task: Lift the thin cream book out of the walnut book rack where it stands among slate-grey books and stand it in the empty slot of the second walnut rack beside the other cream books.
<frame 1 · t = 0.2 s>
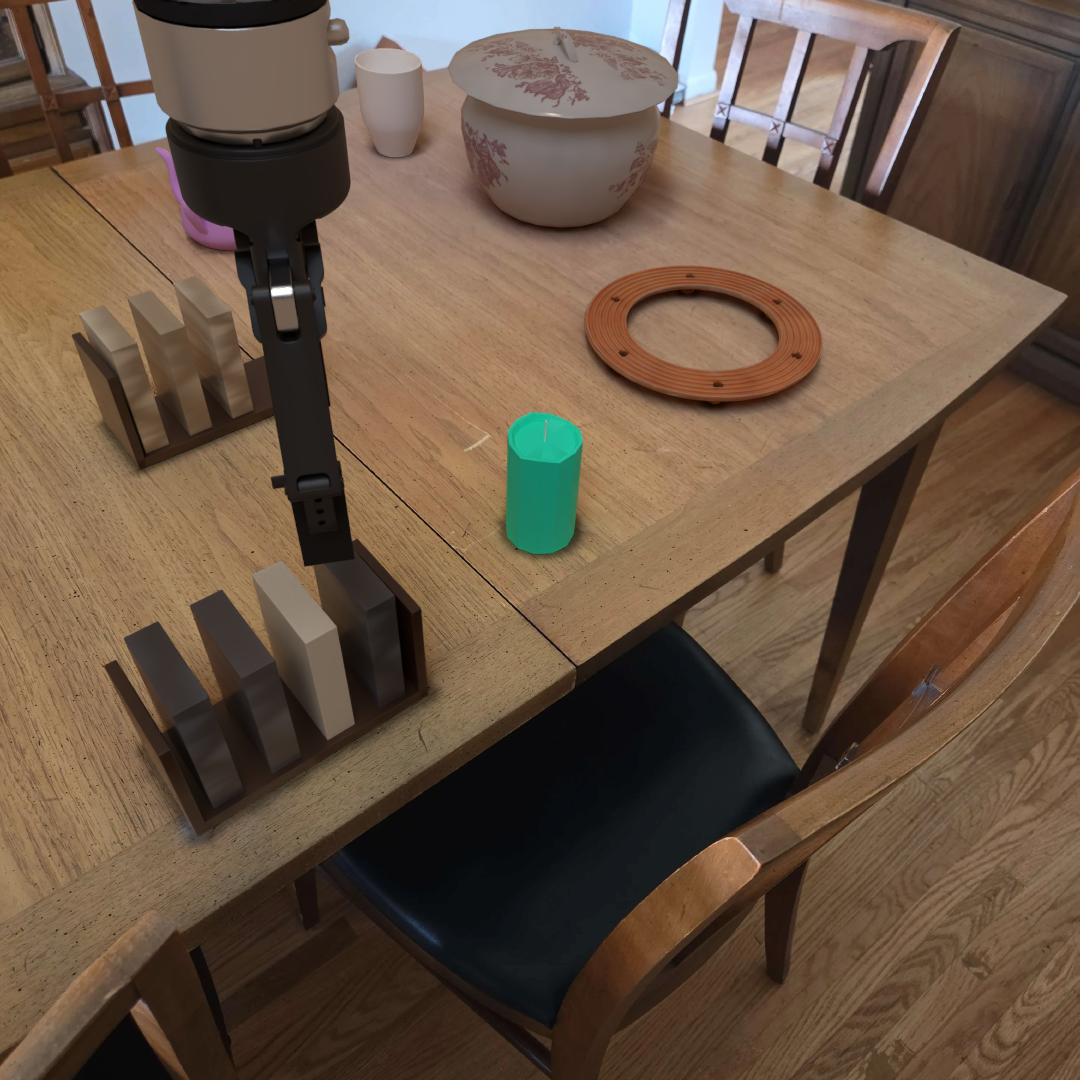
hand: (318, 476, 55), 20 cm above the table, tool pointing down, fingers open, 13 cm apart
chamber pot: (557, 203, 122), on the table
cream book: (316, 698, 66), point 1 cm above the table, touching grey rack
ring: (699, 344, 101), on the table
candle: (539, 530, 81), on the table
mug: (399, 147, 132), on the table
teapot: (236, 232, 114), on the table
cream rack: (213, 410, 90), on the table
grey rack: (291, 722, 66), on the table
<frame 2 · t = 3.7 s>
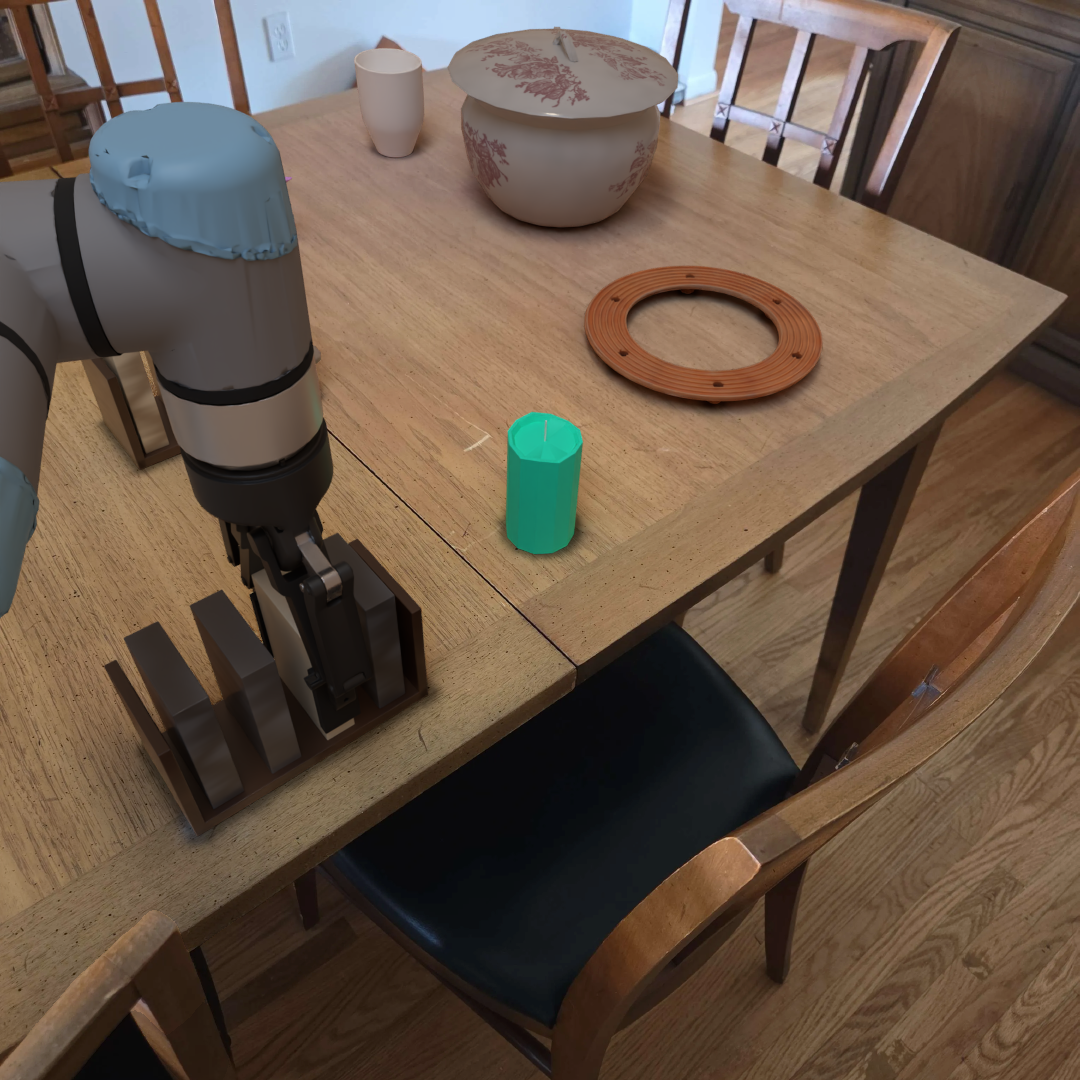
hand: (312, 682, 65), 3 cm above the table, tool pointing down, fingers closed on cream book, 7 cm apart
cream book: (316, 698, 66), point 1 cm above the table, touching grey rack, gripper
everything else where it was.
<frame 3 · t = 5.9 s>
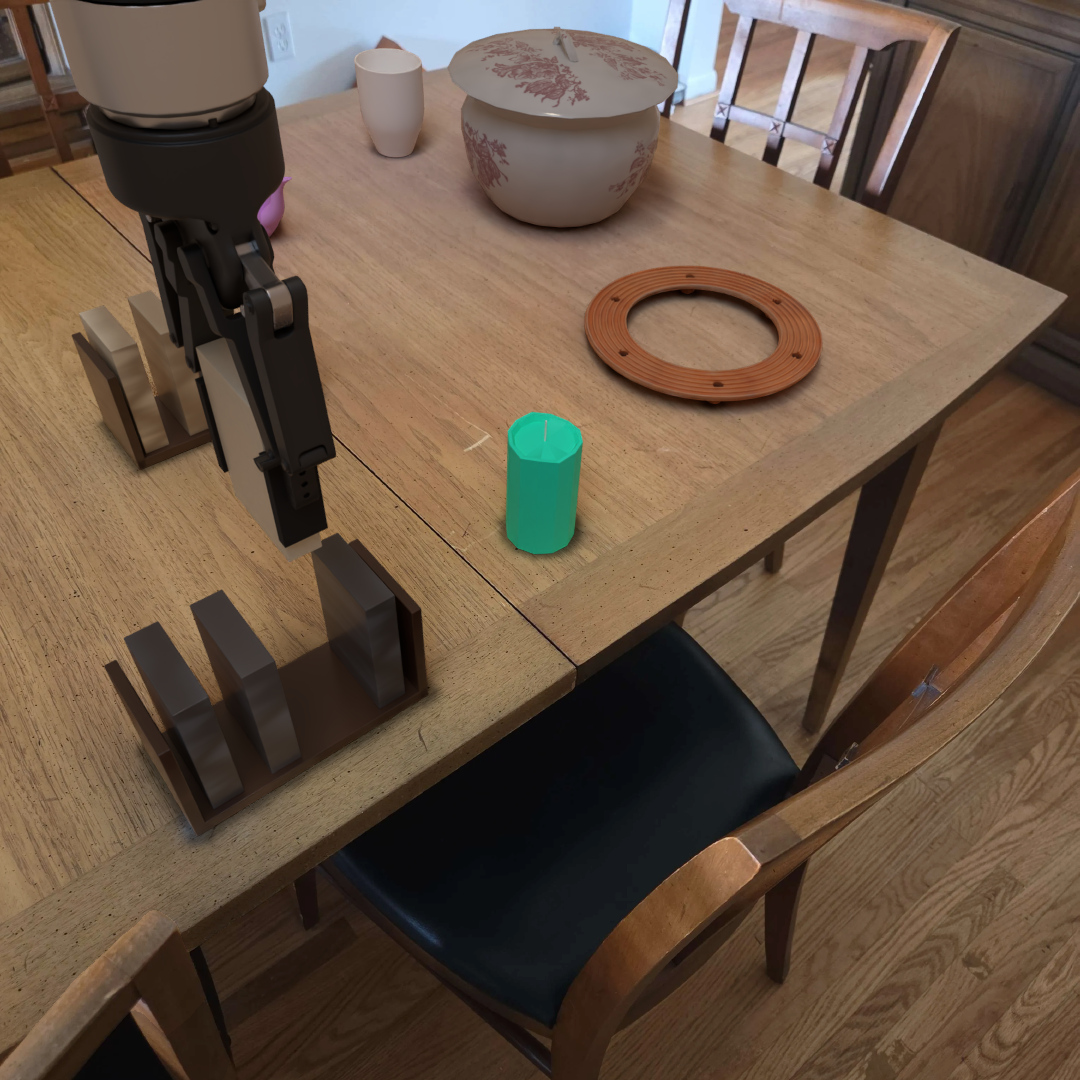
hand: (271, 495, 55), 19 cm above the table, tool pointing down, fingers closed on cream book, 7 cm apart
cream book: (277, 520, 56), point 17 cm above the table, touching gripper
everything else where it was.
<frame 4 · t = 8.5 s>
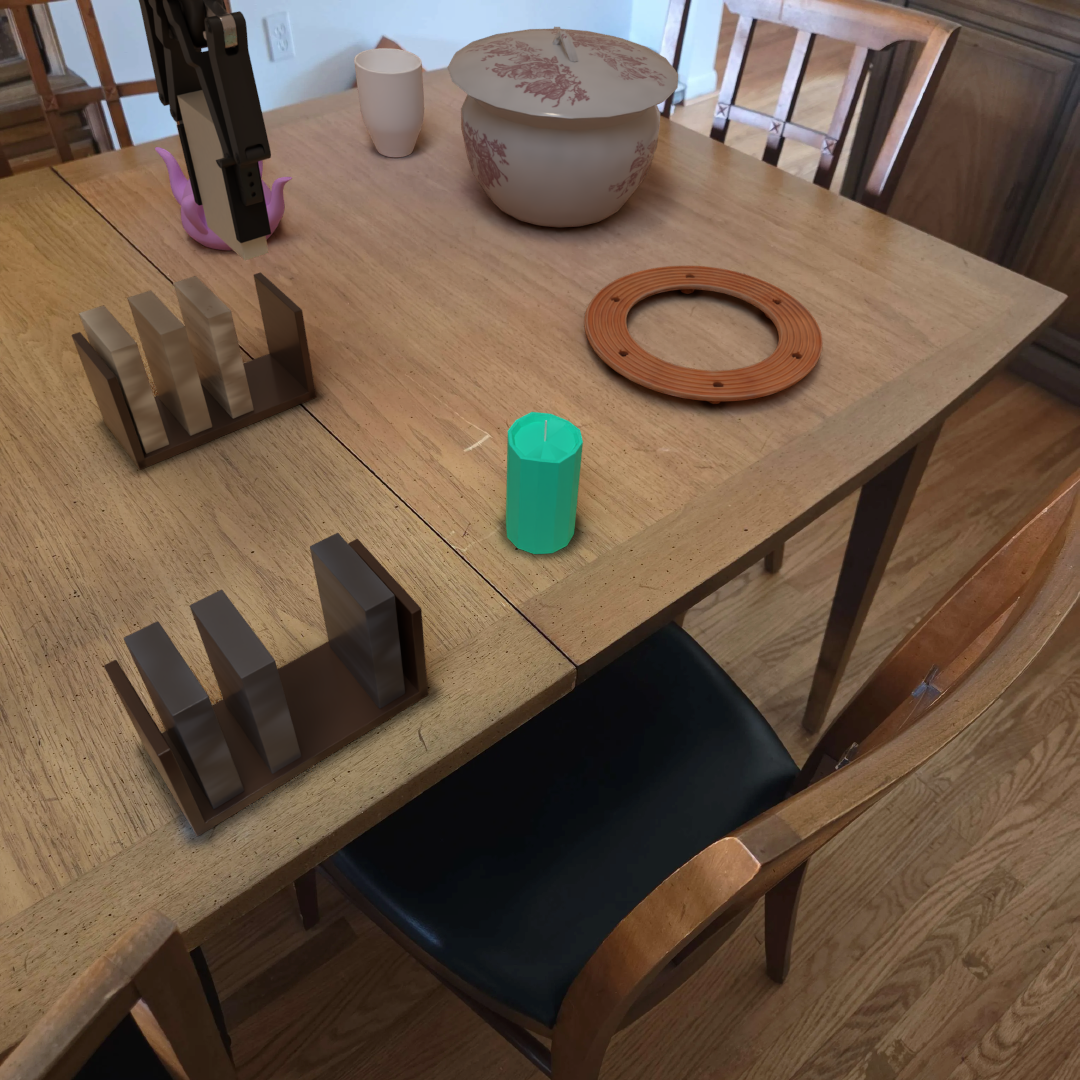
hand: (232, 217, 78), 19 cm above the table, tool pointing down, fingers closed on cream book, 7 cm apart
cream book: (237, 239, 79), point 17 cm above the table, touching gripper
everything else where it was.
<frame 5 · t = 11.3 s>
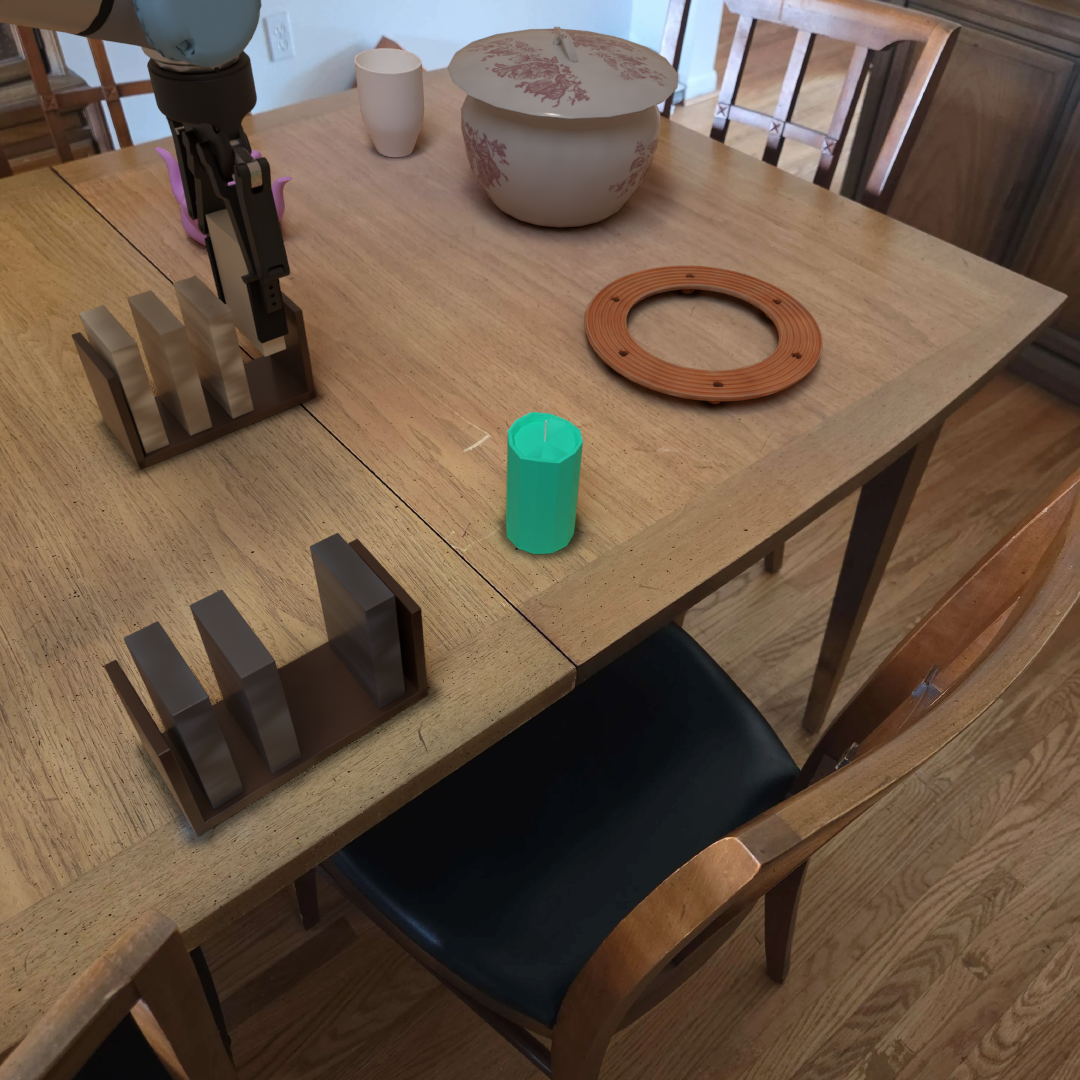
hand: (253, 317, 86), 8 cm above the table, tool pointing down, fingers closed on cream book, 7 cm apart
cream book: (257, 335, 88), point 6 cm above the table, touching gripper
everything else where it was.
when the fingers open (3 cm above the table, at t = 13.2 s): cream book stays where it is, resting on cream rack.
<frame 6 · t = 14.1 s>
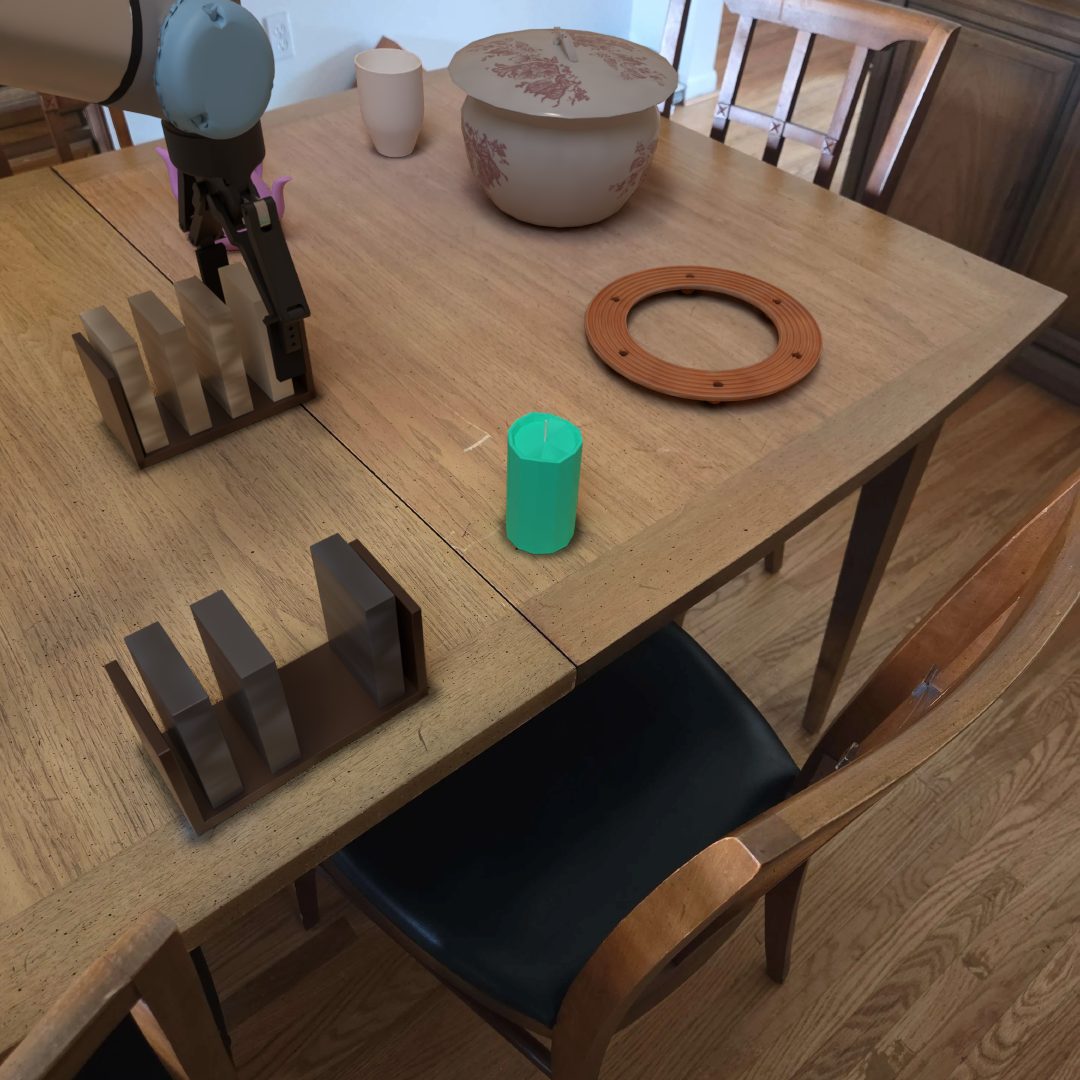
hand: (256, 341, 88), 6 cm above the table, tool pointing down, fingers open, 13 cm apart
cream book: (267, 380, 92), point 1 cm above the table, touching cream rack
everything else where it was.
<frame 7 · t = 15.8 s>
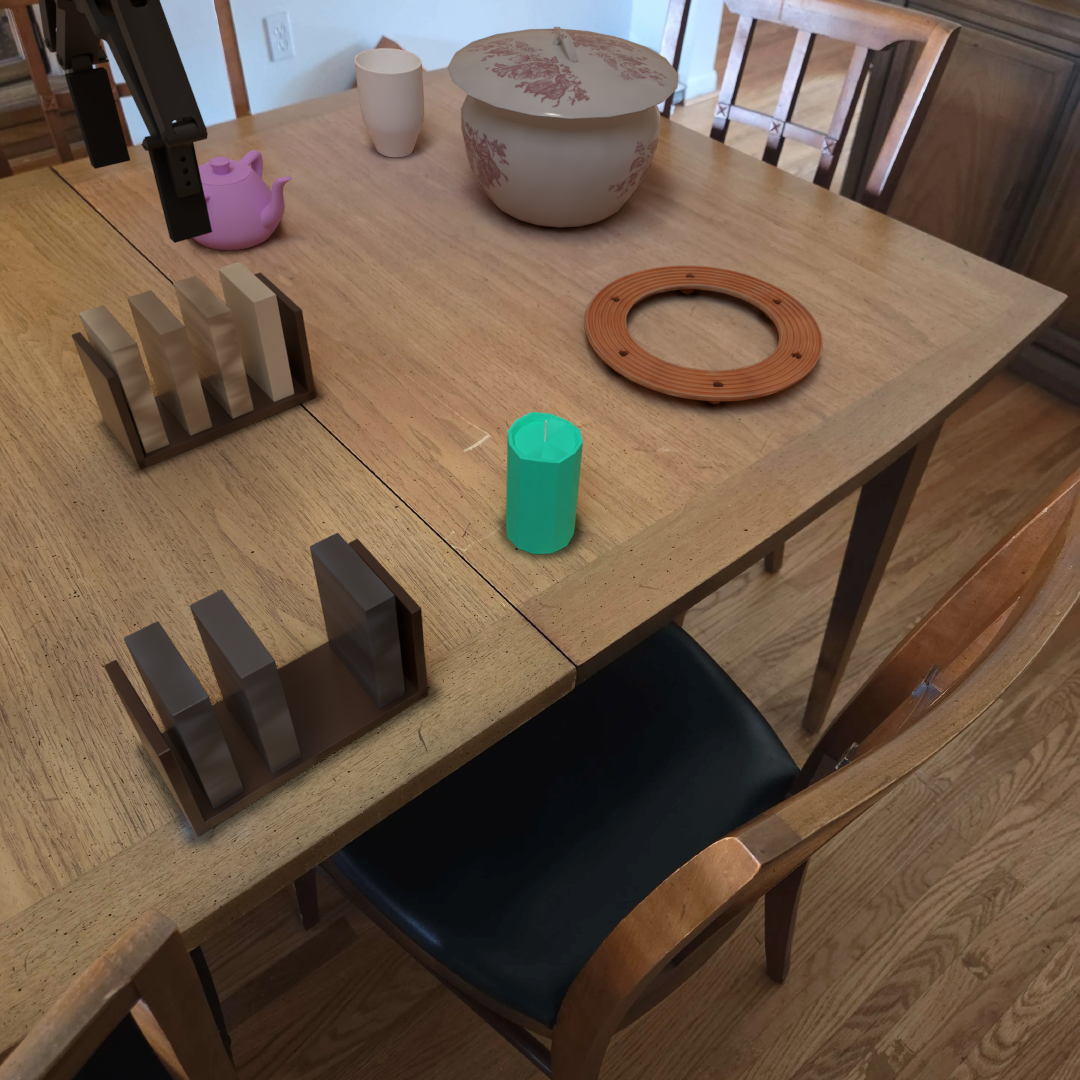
hand: (149, 197, 67), 25 cm above the table, tool pointing down, fingers open, 13 cm apart
nothing on the table moved.
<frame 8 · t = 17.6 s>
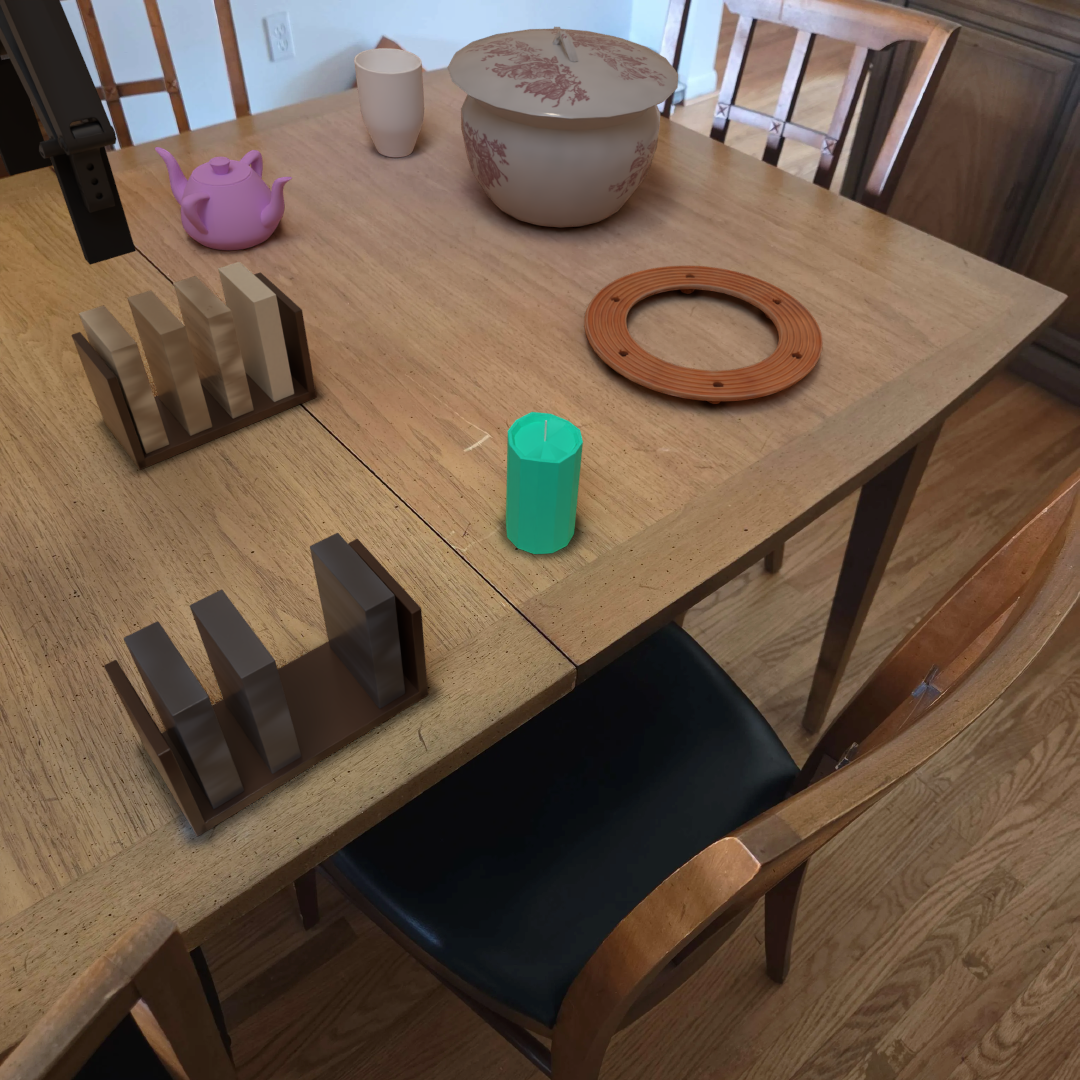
hand: (68, 209, 58), 29 cm above the table, tool pointing down, fingers open, 13 cm apart
nothing on the table moved.
at the end: cream book inside the target area on the cream rack (0.3 cm from its centre), point 1.0 cm above the cream rack's base; cream book tilted 0°; the gripper is holding nothing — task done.
